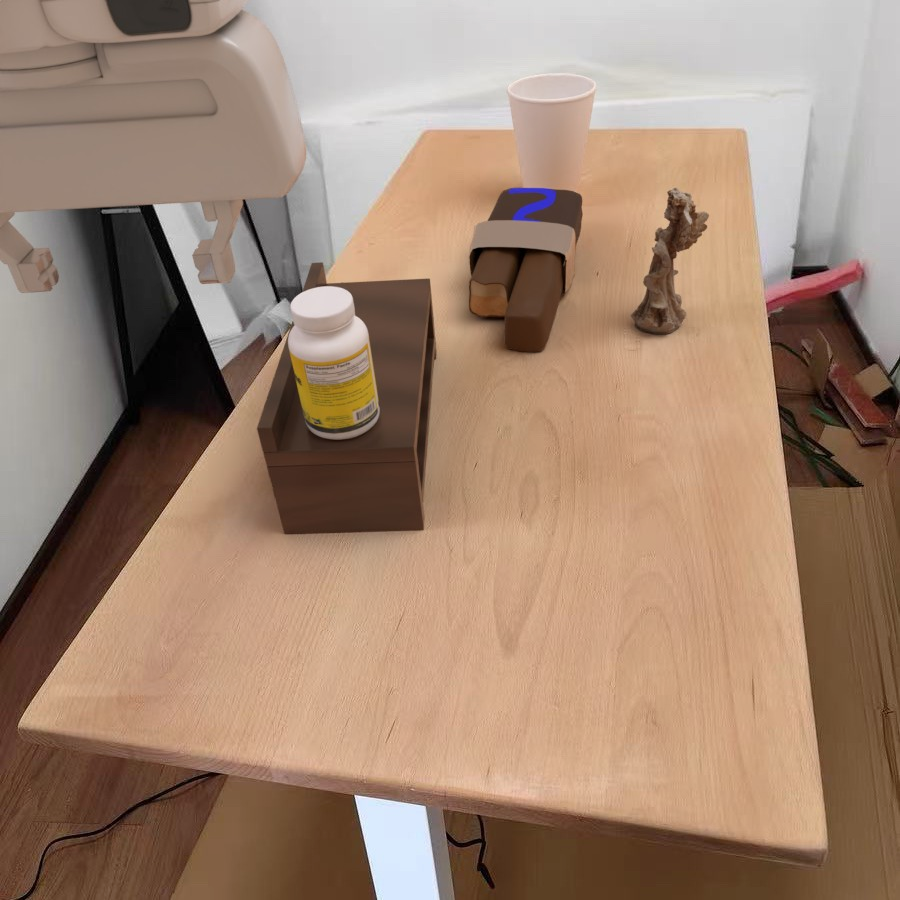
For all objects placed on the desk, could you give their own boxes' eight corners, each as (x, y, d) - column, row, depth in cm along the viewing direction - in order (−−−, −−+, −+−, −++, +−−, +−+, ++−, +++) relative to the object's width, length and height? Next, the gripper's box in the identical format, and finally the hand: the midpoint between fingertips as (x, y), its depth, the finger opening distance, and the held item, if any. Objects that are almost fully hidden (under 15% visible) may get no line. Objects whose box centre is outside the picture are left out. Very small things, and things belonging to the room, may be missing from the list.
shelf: (423, 529, 73) (410, 422, 66) (284, 534, 74) (256, 428, 67) (436, 351, 95) (428, 256, 88) (328, 356, 96) (311, 262, 89)
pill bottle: (314, 397, 74) (291, 281, 67) (386, 397, 73) (369, 280, 66) (297, 442, 69) (270, 322, 62) (373, 443, 68) (354, 321, 61)
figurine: (647, 302, 100) (658, 175, 91) (698, 313, 97) (715, 184, 88) (623, 332, 95) (631, 202, 86) (675, 344, 93) (690, 211, 83)
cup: (605, 210, 120) (610, 91, 111) (523, 224, 119) (521, 105, 109) (576, 180, 130) (578, 68, 120) (500, 192, 128) (496, 80, 118)
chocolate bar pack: (590, 224, 114) (592, 165, 108) (552, 367, 94) (552, 304, 88) (500, 219, 117) (496, 162, 111) (444, 357, 97) (437, 296, 91)
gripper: (-256, 18, 34) (-96, 323, 43) (252, -19, 33) (312, 303, 41) (-163, -14, 39) (-36, 265, 48) (281, -47, 38) (330, 246, 46)
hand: (129, 283), depth 45 cm, fingers open, 8 cm apart
